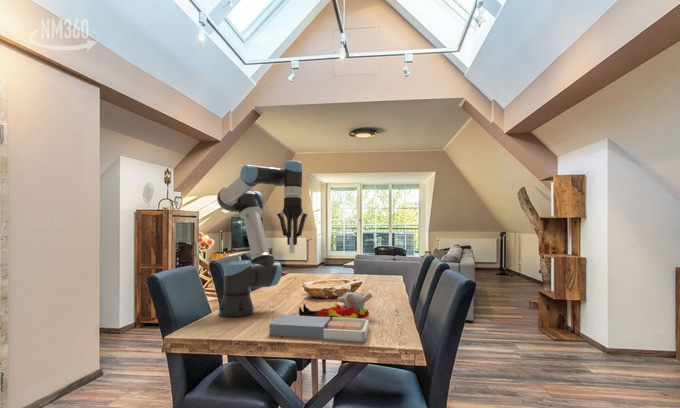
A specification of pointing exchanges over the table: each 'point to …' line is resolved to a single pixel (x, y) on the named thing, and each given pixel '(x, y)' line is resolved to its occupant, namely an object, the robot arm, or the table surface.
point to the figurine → (335, 312)
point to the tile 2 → (353, 326)
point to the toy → (354, 300)
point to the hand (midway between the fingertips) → (292, 252)
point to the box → (348, 331)
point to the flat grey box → (299, 326)
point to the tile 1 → (336, 325)
